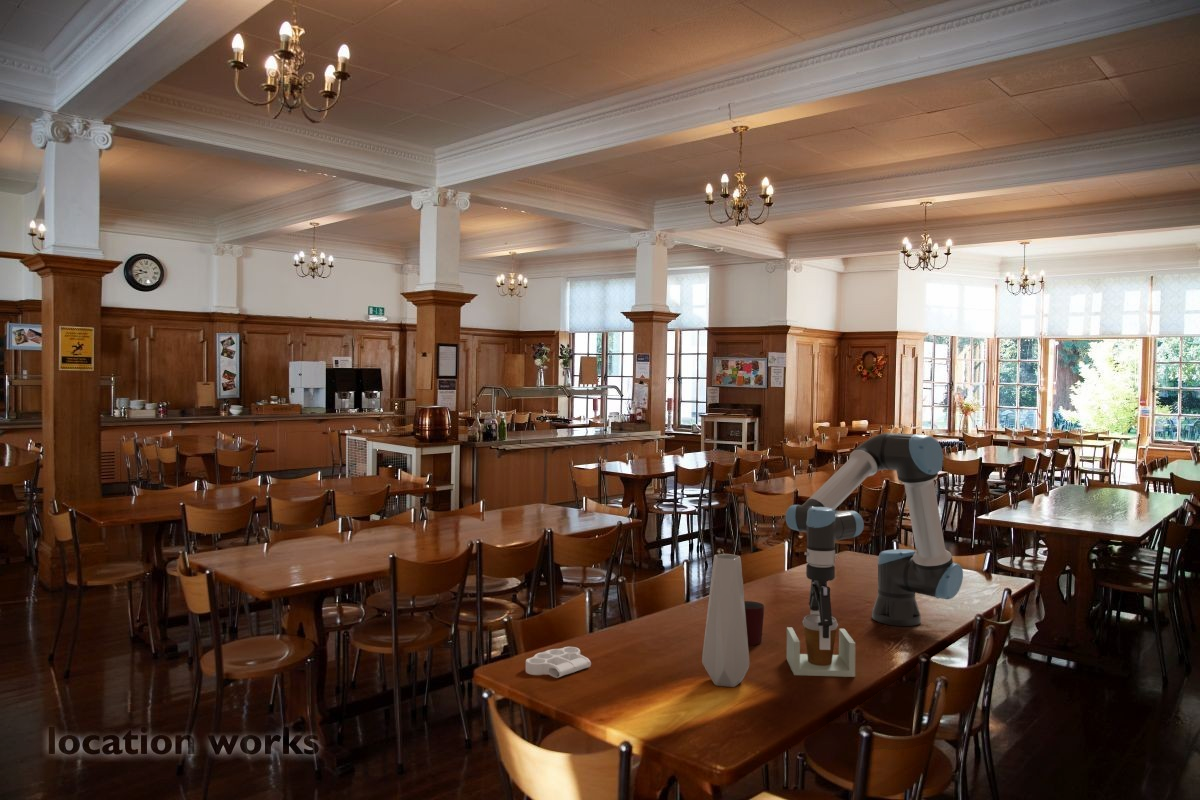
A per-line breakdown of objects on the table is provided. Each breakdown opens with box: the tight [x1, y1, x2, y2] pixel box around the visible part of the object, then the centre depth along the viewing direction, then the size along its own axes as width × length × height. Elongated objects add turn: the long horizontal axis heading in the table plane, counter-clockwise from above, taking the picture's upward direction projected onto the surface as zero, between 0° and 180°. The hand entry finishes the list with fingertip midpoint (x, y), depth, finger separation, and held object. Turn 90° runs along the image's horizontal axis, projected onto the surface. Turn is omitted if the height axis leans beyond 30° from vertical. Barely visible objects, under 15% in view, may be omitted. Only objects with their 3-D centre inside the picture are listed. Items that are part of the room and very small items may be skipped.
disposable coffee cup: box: [802, 614, 839, 666], centre depth 224 cm, size 10×10×12 cm
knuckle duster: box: [525, 646, 592, 679], centre depth 224 cm, size 3×18×15 cm
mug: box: [744, 600, 765, 646], centre depth 246 cm, size 12×9×11 cm
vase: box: [701, 553, 750, 688], centre depth 213 cm, size 12×12×33 cm
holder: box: [786, 626, 856, 678], centre depth 224 cm, size 16×13×9 cm
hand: (819, 641), depth 224 cm, fingers open, 13 cm apart
